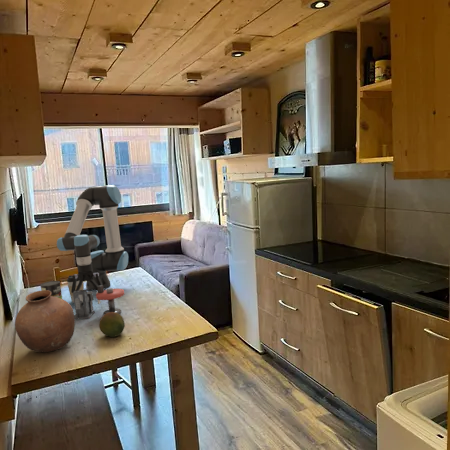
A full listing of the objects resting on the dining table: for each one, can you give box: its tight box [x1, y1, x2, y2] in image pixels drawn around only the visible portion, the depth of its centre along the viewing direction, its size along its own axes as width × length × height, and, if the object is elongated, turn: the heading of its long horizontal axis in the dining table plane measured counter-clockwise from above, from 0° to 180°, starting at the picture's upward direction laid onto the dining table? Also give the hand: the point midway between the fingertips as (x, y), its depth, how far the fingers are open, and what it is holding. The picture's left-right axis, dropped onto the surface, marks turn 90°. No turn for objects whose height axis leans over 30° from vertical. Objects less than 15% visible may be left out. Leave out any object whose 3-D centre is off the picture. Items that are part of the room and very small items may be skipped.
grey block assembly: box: [73, 289, 95, 320], centre depth 212 cm, size 12×9×13 cm
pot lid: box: [95, 285, 125, 301], centre depth 210 cm, size 14×14×5 cm
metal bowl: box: [103, 299, 122, 316], centre depth 211 cm, size 9×9×9 cm
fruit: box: [98, 312, 126, 338], centre depth 182 cm, size 12×13×10 cm
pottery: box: [14, 290, 76, 353], centre depth 171 cm, size 23×23×25 cm
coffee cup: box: [66, 274, 85, 303], centre depth 237 cm, size 9×9×15 cm
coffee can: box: [39, 280, 63, 299], centre depth 228 cm, size 10×10×14 cm
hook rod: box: [75, 290, 94, 309], centre depth 213 cm, size 18×3×7 cm, turn 0°
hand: (89, 304), depth 221 cm, fingers open, 10 cm apart
